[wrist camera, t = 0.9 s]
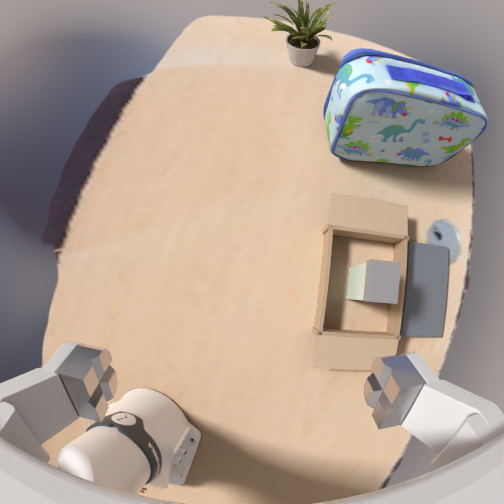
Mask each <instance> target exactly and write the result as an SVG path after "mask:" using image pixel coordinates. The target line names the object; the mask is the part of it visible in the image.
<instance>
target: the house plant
mask: <svg viewBox="0 0 504 504" xmlns="http://www.w3.org/2000/svg"><path fill="white" fill-rule="evenodd" d="M271 3H273V2H271ZM273 4H276V5H279V6H280V8H282V9H284V10H285V11H286V12H287V13H288V14H289V13H290V14H289V16H290V18H291V19H292V20H293V22H294V23H295V25H296V24H297V25H296V27H297V28H296V29H297V30H298V32H297V31H296V30H294V29H293V28H292V27H290V26H288V25H286V24H284V23H282V22H280V21H277V20H275V19H272V18H267V17H265V18H266V19H267V20H270V21H272V22H273V23H274V24H276V25H275V27H276V28H274V29H272V30H271V31H287V32H289V33H290V34H289V35H288V36H287V37H286V43H287V48H288V53H289V58H290V61H291V63H292V64H294V65H296V66H298V67H308V66H310V65H311V64H312V62H313V60H314V58H315V55H316V53H317V51H318V48H319V46H320V40H319V39H318V37H317V36H315V35H316V34H317V33H319V32H321V31H323V30H324V29H325V28H324V27H323V26H324V25H325V24H326V23H325V22H326V21H327V20H328V19H329V18H331V17H332V16H331V17H329V18H327V19H326V20H325V21H324V22H322V21H321V20H322V19H323V18H324V17H326V15H327V14H328V13H329V12H328V13H326V14H325V15H324V16H323V17H322V18H321V19H319V18H320V16H321V15H322V14H323V13H324V12H325V11H326V10H328V9H329V8H330V7H331V6H332V5H335V3H333V4H329V5H326V6H325V7H323V8H319V9H317V10H316V11H315V12H314V13H313V14H312V16H311V18H310V20H309V5H308V2H306V13H305V15H304V10H303V2H302V0H298V4H299V11H297V12H296V11H295V10H294V11H295V13H296V14H297V17H296V16H295V14H294V13H293V12H292V11H291V10H290V9H288V8H287V7H285V6H283V5H280V4H277V3H273ZM319 10H320V11H319ZM318 11H319V12H318ZM317 12H318V13H317ZM316 13H317V14H316ZM315 14H316V16H315V18H314V20H313V21H312V23H311V25H310V27H309V23H310V22H311V20H312V18H313V16H314V15H315ZM276 16H280V15H276ZM291 16H292V17H291ZM280 17H282V18H284V19H286V20H288V19H287V18H285V17H283V16H280ZM318 19H319V20H318ZM288 21H289V20H288ZM289 22H290V23H292V22H291V21H289ZM292 24H293V23H292ZM271 31H270V32H271ZM318 36H323V37H327V38H329V39H331V40H332V38H331V37H330V36H328V35H318Z"/></svg>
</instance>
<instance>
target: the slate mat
mask: <svg viewBox="0 0 504 504" xmlns="http://www.w3.org/2000/svg"><path fill="white" fill-rule="evenodd" d="M448 260H449V248H447V247H441V246H435V245H429V244H423V243H416V242H410V241H409V242H408V243H407V268H406V283H405V294H404V304H403V313H402V321H401V328H400V336H401V337H442V331H443V324H444V316H445V307H446V297H447V283H448Z"/></svg>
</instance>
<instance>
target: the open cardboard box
mask: <svg viewBox="0 0 504 504" xmlns="http://www.w3.org/2000/svg"><path fill="white" fill-rule="evenodd" d="M323 234H324V246H323V257H322V268H321V278H320V287H319V295H318V304H317V311H316V319H315V326H314V328H313V327H312V332H313V333H314V334H315V335H317V341H316V347H315V354H314V360H313V366H312V368H321V369H340V370H372V369H371V366H372V363H373V361H374V360H375V359H376V358H378V357H386V356H394V355H396V353H397V347H398V341H399V340H400V339H401V336H400V328H401V321H402V313H403V304H404V294H405V283H406V268H407V243H408V240H409V236H408V210H407V206H405V205H400V204H395V203H389V202H384V201H378V200H372V199H366V198H360V197H354V196H347V195H341V194H334V193H331V201H330V219H329V224H328V225H327V226H326V227H325V228H324V229H323ZM333 235H336V236H344V237H352V238H359V239H366V240H374V241H381V242H388V243H394V262H397V263H401V267H400V281H399V293H398V303H397V304H392V303H390V309H389V317H388V325H387V332H367V331H351V330H337V329H324V328H323V324H324V317H325V309H326V301H327V292H328V283H329V274H330V263H331V252H332V239H333Z"/></svg>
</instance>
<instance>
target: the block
mask: <svg viewBox="0 0 504 504" xmlns="http://www.w3.org/2000/svg"><path fill="white" fill-rule="evenodd" d="M400 267H401V263H397V262H389V261H381V260H373V259H371V260H368V261H367V262H366V263H363V264H360V265H357V266H354V267H351V268H349V275H348V286H347V295H346V299H352V300H363V301H367V302H379V303H392V304H397V303H398V293H399V281H400Z"/></svg>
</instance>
